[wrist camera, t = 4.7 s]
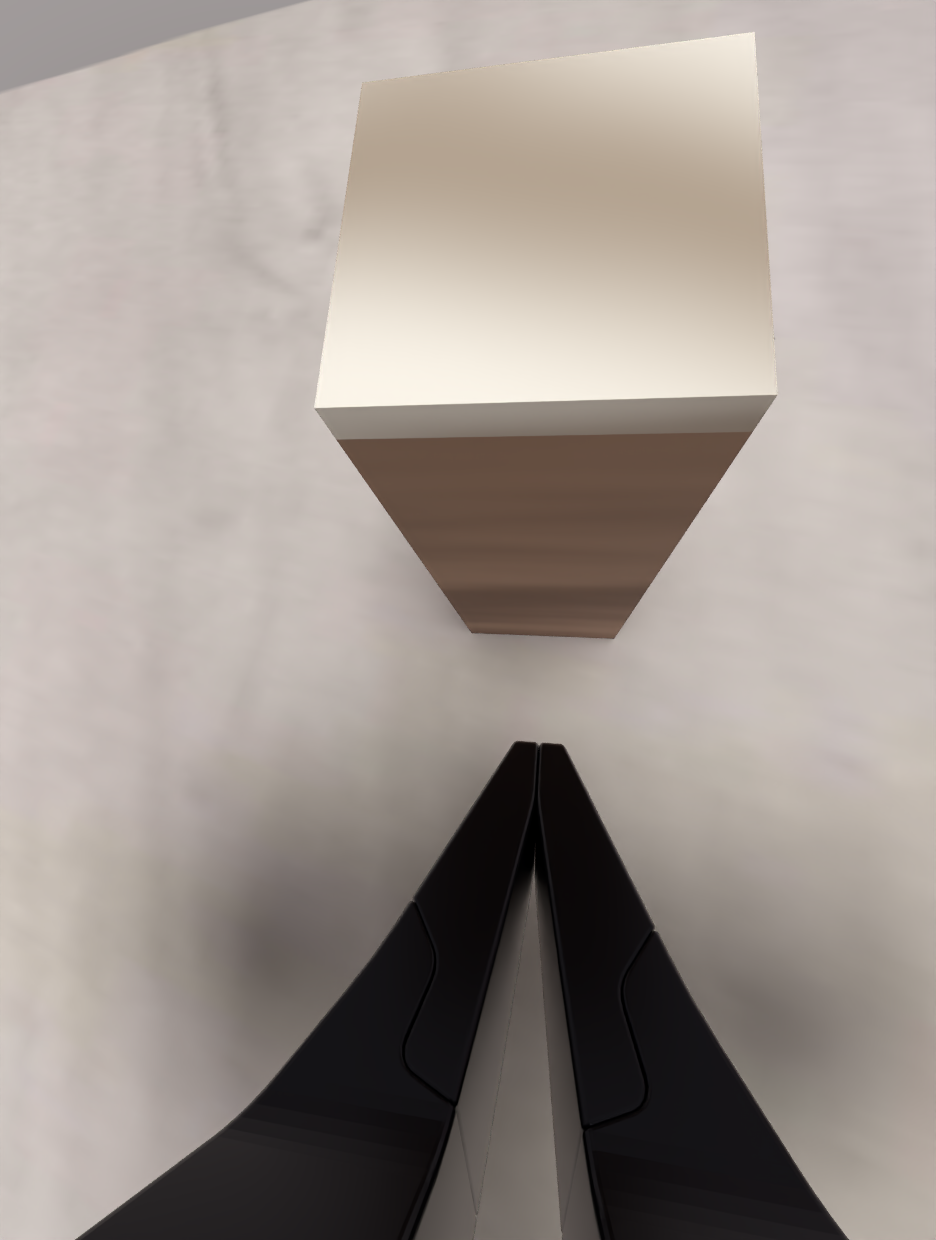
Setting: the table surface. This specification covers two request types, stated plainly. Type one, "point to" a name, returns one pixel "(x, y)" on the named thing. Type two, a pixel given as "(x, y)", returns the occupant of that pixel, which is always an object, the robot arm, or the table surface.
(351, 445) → the walnut block
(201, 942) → the table surface
